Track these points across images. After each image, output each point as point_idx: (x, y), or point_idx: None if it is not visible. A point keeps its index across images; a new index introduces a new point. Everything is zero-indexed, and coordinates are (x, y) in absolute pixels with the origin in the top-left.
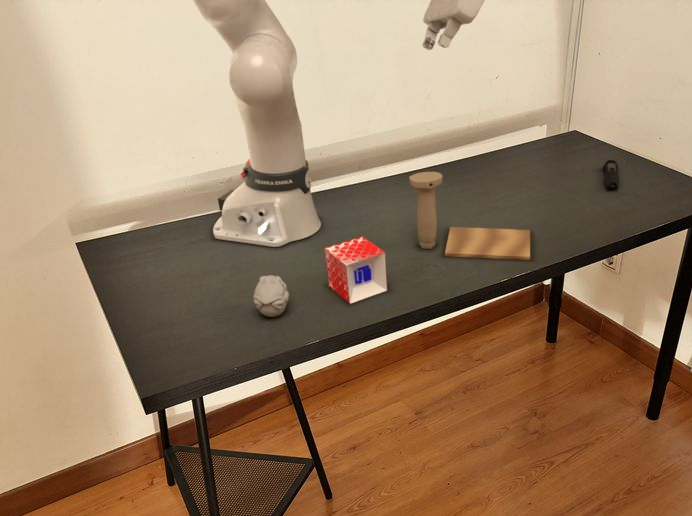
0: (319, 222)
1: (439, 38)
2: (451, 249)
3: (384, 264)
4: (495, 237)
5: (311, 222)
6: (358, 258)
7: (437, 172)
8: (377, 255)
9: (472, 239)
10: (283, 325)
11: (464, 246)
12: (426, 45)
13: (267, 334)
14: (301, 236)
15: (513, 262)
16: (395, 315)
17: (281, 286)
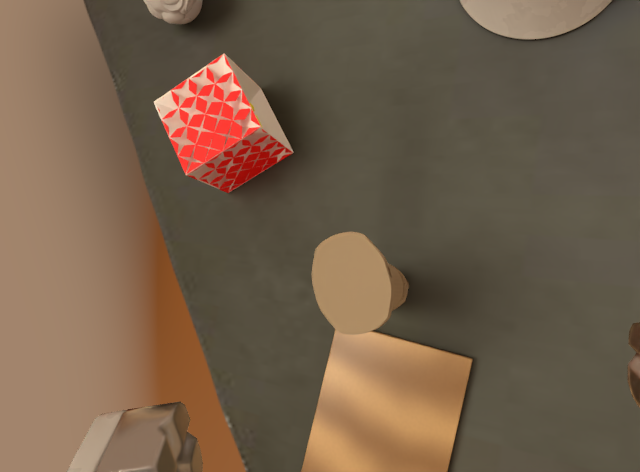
0: (533, 32)
1: (159, 430)
2: (350, 339)
3: (200, 179)
4: (395, 459)
5: (495, 12)
6: (216, 126)
7: (379, 324)
8: (181, 160)
9: (393, 399)
10: (160, 32)
11: (360, 372)
12: (637, 342)
13: (142, 13)
14: (464, 3)
15: (291, 466)
16: (154, 204)
17: (159, 1)
